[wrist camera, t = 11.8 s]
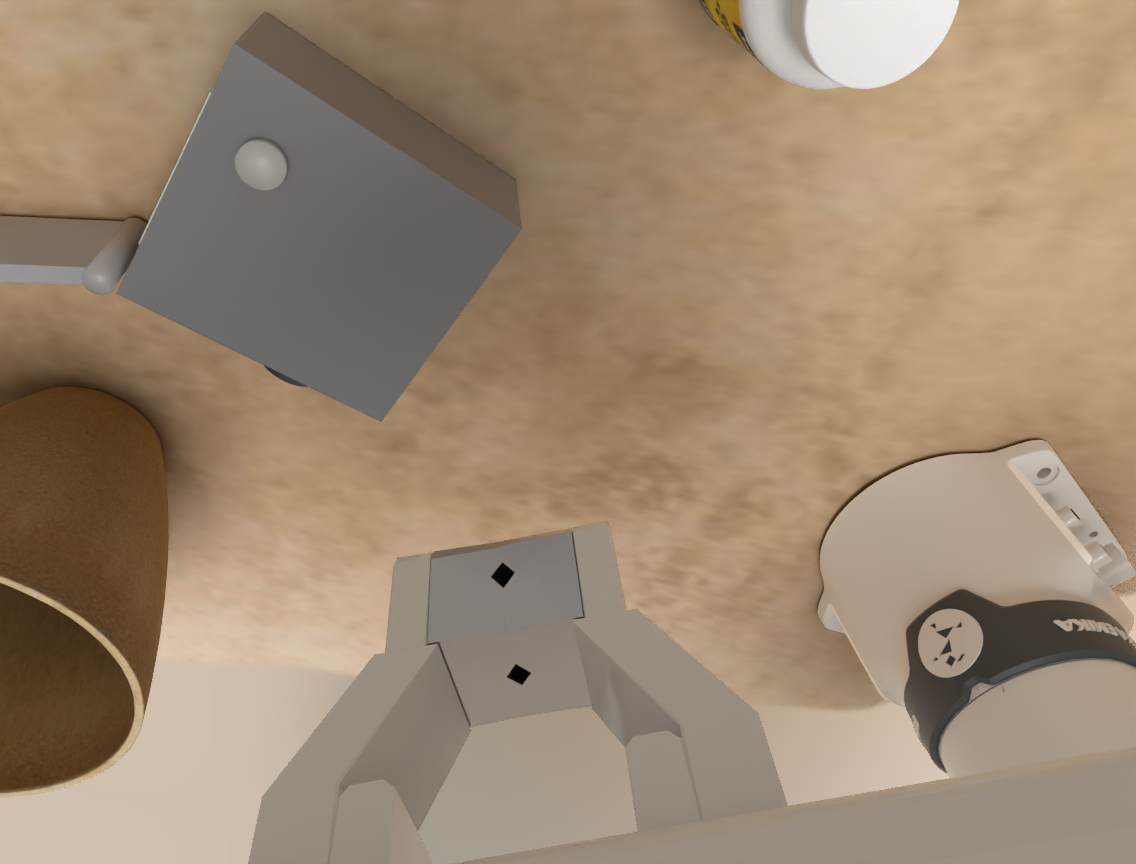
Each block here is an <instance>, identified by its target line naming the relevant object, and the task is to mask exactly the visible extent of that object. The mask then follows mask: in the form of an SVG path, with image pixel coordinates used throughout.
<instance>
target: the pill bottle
mask: <svg viewBox="0 0 1136 864" xmlns="http://www.w3.org/2000/svg"><path fill="white" fill-rule="evenodd" d="M700 1H701V3H702V5H703V7H704V9H705V10H706V12H707V13H708V15H709V16H710V17H711V18H712V20H713V21H714V22H715V23H716V24H717V25H718V26H720V27H721V28H722V29H723V30H724V31H726V32H727V33H728V34H729V35H730V36H731V37H732V38H733V39H735V40H736V41H737V42H738V43H739V44H740V45H742V46H743V47H744V48H745V49H746V50H747V51H748V52H750V53H751V54H752V55H753V56H754V57H755V58H756V59H757V60H758V61H759V62H760V63H761V64H762V65H764V66H765V67H766V68H767V69H768V70H770V71H771V72H772V73H774V74H775V75H776V76H778V77H779V78H781V79H783V80H785V81H787V82H789V83H791V84H794V85H797V86H801V87H804V88H811V89H833V88H839V87H844V86H845V87H849V88H856V89H871V88H877V87H882V86H885V85H888V84H891V83H893V82H896V81H898V80H900V79H902V78H903V77H905V76H907V75H908V74H910V73H911V72H913V71H914V70H915V69H917V68H918V67H919V66H920V65H922V64H923V63H924V62H925V61H926V60H927V59H928V58H929V57H930V56H931V55H932V53H933V52H934V51H935V50H936V49H937V48H938V46H939V45H940V43H941V42H942V40H943V39H944V37H945V36H946V34H947V32H948V30H949V28H950V26H951V24H952V22H953V19H954V17H955V14H956V11H957V8H958V4H959V0H700Z"/></svg>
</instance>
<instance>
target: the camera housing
mask: <svg viewBox="0 0 1136 864" xmlns="http://www.w3.org/2000/svg"><path fill="white" fill-rule="evenodd" d="M521 229H522V228H521V220H520V212H519V204H518V196H517V188H516V180H515V179H514V178H512V177H511V176H509V175H508V174H506V173H505V172H503V171H502V170H500V169H499V168H497V167H496V166H494V165H493V164H491V163H490V162H488V161H487V160H485V159H484V158H482V157H481V156H479V155H478V154H476V153H475V152H473V151H472V150H470V149H469V148H468V147H466V146H465V145H463V144H462V143H460V142H459V141H457V140H456V139H454V138H453V137H451V136H450V135H448V134H447V133H445V132H444V131H442V130H441V129H439V128H438V127H436V126H435V125H433V124H432V123H430V122H429V121H427V120H426V119H424V118H423V117H421V116H420V115H418V114H417V113H415V112H414V111H413V110H411V109H410V108H408V107H407V106H405V105H404V104H402V103H401V102H399V101H398V100H396V99H395V98H393V97H392V96H390V95H389V94H387V93H386V92H384V91H383V90H381V89H380V88H378V87H377V86H375V85H374V84H372V83H371V82H369V81H368V80H366V79H365V78H363V77H362V76H360V75H359V74H358V73H356V72H355V71H353V70H352V69H350V68H349V67H347V66H346V65H344V64H343V63H341V62H340V61H338V60H337V59H335V58H334V57H332V56H331V55H329V54H328V53H326V52H325V51H323V50H322V49H320V48H319V47H317V46H316V45H314V44H313V43H311V42H310V41H308V40H307V39H305V38H304V37H302V36H301V35H300V34H298V33H297V32H295V31H294V30H292V29H291V28H289V27H288V26H286V25H285V24H283V23H282V22H280V21H279V20H277V19H276V18H274V17H273V16H271V15H270V14H268V13H267V12H264V13H263V15H262V16H261V17H260V18H259V19H258V20H257V21H256V22H255V23H254V24H253V25H252V26H251V27H250V28H249V29H248V30H247V31H246V32H245V33H244V34H243V36H242V37H241V38H240V39H239V40H238V41H237V42H236V43H235V44H234V46H233V48H232V50H231V52H230V55H229V57H228V59H227V61H226V63H225V65H224V67H223V69H222V71H221V74H220V76H219V78H218V80H217V82H216V84H215V86H214V88H213V89H212V90H211V91H210V93H209V95H208V97H207V99H206V101H205V103H204V106H203V108H202V110H201V112H200V114H199V116H198V118H197V120H196V123H195V125H194V127H193V129H192V131H191V133H190V135H189V137H188V139H187V142H186V144H185V146H184V148H183V150H182V152H181V154H180V156H179V159H178V161H177V163H176V165H175V167H174V169H173V171H172V173H171V176H170V178H169V180H168V182H167V184H166V186H165V188H164V190H163V192H162V195H161V197H160V199H159V201H158V203H157V205H156V207H155V209H154V212H153V214H152V216H151V218H150V220H149V222H148V224H147V226H146V228H145V231H144V233H143V235H142V237H141V239H140V241H139V243H138V244H140V245H139V247H138V249H137V251H136V253H135V255H134V257H133V260H132V262H131V264H130V266H129V268H128V270H127V272H126V274H125V276H124V279H123V281H122V283H121V285H120V287H119V289H118V291H117V293H116V294H118V295H120V296H122V297H124V298H127V299H129V300H131V301H133V302H135V303H137V304H139V305H141V306H143V307H145V308H147V309H149V310H151V311H153V312H155V313H158V314H160V315H162V316H164V317H166V318H168V319H170V320H172V321H174V322H176V323H178V324H180V325H182V326H184V327H186V328H189V329H191V330H193V331H195V332H197V333H199V334H201V335H203V336H205V337H207V338H209V339H211V340H213V341H215V342H217V343H220V344H222V345H224V346H226V347H228V348H230V349H232V350H234V351H236V352H238V353H240V354H242V355H244V356H246V357H248V358H251V359H253V360H255V361H257V362H259V363H261V364H263V365H264V366H265V367H266V368H267V369H268V370H269V371H270V372H271V373H272V374H274V375H275V376H276V377H278V378H280V379H281V380H283V381H285V382H288V383H290V384H293V385H297V386H303V387H310V388H313V389H315V390H317V391H319V392H321V393H323V394H325V395H327V396H329V397H331V398H333V399H335V400H337V401H339V402H341V403H344V404H346V405H348V406H350V407H352V408H354V409H356V410H358V411H360V412H362V413H364V414H366V415H368V416H370V417H372V418H374V419H377V420H379V421H381V422H382V420H383V419H384V417H385V416H386V415H387V413H388V412H389V411H390V409H391V408H392V406H393V405H394V404H395V402H396V401H397V400H398V398H399V397H400V395H401V394H402V393H403V391H404V390H405V389H406V387H407V386H408V384H409V383H410V382H411V380H412V379H413V378H414V376H415V375H416V373H417V372H418V371H419V369H420V368H421V367H422V365H423V364H424V362H425V361H426V360H427V358H428V357H429V356H430V354H431V353H432V351H433V350H434V349H435V347H436V346H437V345H438V343H439V342H440V340H441V339H442V338H443V336H444V335H445V334H446V332H447V331H448V329H449V328H450V327H451V325H452V324H453V323H454V321H455V320H456V318H457V317H458V316H459V314H460V313H461V312H462V310H463V309H464V307H465V306H466V305H467V303H468V302H469V301H470V299H471V298H472V296H473V295H474V294H475V292H476V291H477V290H478V288H479V287H480V285H481V284H482V283H483V281H484V280H485V279H486V277H487V276H488V274H489V273H490V272H491V270H492V269H493V268H494V266H495V265H496V263H497V262H498V261H499V259H500V258H501V257H502V255H503V254H504V252H505V251H506V250H507V248H508V247H509V246H510V244H511V243H512V241H513V240H514V239H515V237H516V236H517V235H518V233H519V232H520V231H521Z"/></svg>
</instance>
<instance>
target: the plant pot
mask: <svg viewBox="0 0 1136 864" xmlns="http://www.w3.org/2000/svg"><path fill="white" fill-rule="evenodd" d="M168 539H169V535H168V499H167V485H166V475H165V467H164V460H163V453H162V447H161V444H160V441H159V438H158V436H157V434H156V432H155V430H154V429H153V427H152V426H151V424H150V423H149V422H148V421H147V420H146V419H145V418H144V417H143V416H142V415H141V414H140V413H139V412H138V411H137V410H136V409H134V408H133V407H132V406H130V405H129V404H127V403H125V402H124V401H122V400H120V399H118V398H116V397H114V396H112V395H109V394H107V393H104V392H101V391H98V390H94V389H89V388H84V387H74V386H63V387H53V388H47V389H44V390H41V391H38V392H36V393H33V394H30V395H28V396H25V397H23V398H20V399H18V400H15V401H13V402H11V403H8V404H6V405H4V406H1V407H0V797H15V796H24V795H33V794H39V793H45V792H50V791H55V790H59V789H63V788H66V787H70V786H73V785H75V784H78V783H81V782H83V781H85V780H88V779H90V778H92V777H94V776H96V775H98V774H100V773H102V772H104V771H105V770H107V769H108V768H110V767H111V766H112V765H114V764H115V763H116V762H117V761H118V760H120V759H121V758H122V757H123V756H124V755H125V754H126V753H127V752H128V751H129V749H130V748H131V747H132V745H133V744H134V742H135V740H136V738H137V737H138V734H139V732H140V730H141V727H142V723H143V719H144V714H145V710H146V705H147V701H148V697H149V692H150V687H151V682H152V677H153V672H154V667H155V661H156V656H157V651H158V644H159V638H160V632H161V624H162V616H163V609H164V600H165V589H166V577H167V563H168Z"/></svg>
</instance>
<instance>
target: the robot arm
mask: <svg viewBox="0 0 1136 864" xmlns="http://www.w3.org/2000/svg"><path fill="white" fill-rule="evenodd" d="M1127 559H1128V558H1127V555H1126V553H1125V551H1124V550H1123V548H1122V547H1121V545H1120V544H1119V542H1118V541H1117V539H1116V538H1115V537H1114V535H1113V534H1112V532H1111V531H1110V529H1109V528H1108V527H1107V525H1106V524H1105V522H1104V521H1103V520H1102V518H1101V517H1100V515H1099V514H1098V512H1097V511H1096V510H1095V508H1094V507H1093V505H1092V504H1091V502H1090V501H1089V500H1088V498H1087V497H1086V495H1085V494H1084V493H1083V491H1082V490H1081V488H1080V487H1079V485H1078V484H1077V483H1076V481H1075V480H1074V478H1073V477H1072V475H1071V474H1070V473H1069V471H1068V470H1067V468H1066V467H1065V466H1064V464H1063V463H1062V461H1061V460H1060V458H1059V457H1058V456H1057V454H1056V453H1055V451H1054V450H1053V448H1052V447H1051V446H1050V444H1049V443H1048V442H1046V441H1043V440H1032V441H1027V442H1023V443H1020V444H1016V445H1013V446H1010V447H1007V448H1004V449H1001V450H998V451H996V452H989V453H970V454H953V455H945V456H940V457H935V458H931V459H927V460H924V461H920V462H917V463H914V464H912V465H909V466H906V467H904V468H902V469H899V470H897V471H895V472H893V473H891V474H889V475H887V476H885V477H884V478H882V479H880V480H879V481H877V482H875V483H874V484H872V485H871V486H869V487H868V488H867V489H865V490H864V491H863V492H861V493H860V494H859V495H858V496H856V497H855V498H854V499H853V500H852V501H851V502H850V503H849V504H848V505H847V506H846V507H845V508H844V509H843V510H842V511H841V512H840V514H839V515H838V516H837V518H836V519H835V520H834V522H833V523H832V525H831V526H830V528H829V530H828V532H827V534H826V536H825V538H824V541H823V544H822V547H821V552H820V570H821V574H822V578H823V582H824V591H823V594H822V597H821V599H820V602H819V606H818V611H817V614H818V616H819V618H820V620H821V622H822V623H823V625H824V626H825V627H826V628H827V629H829V630H833V631H836V632H840V633H844V634H846V636H847V637H848V639H849V641H850V643H851V645H852V647H853V648H854V650H855V652H856V654H857V656H858V657H859V659H860V661H861V663H862V665H863V666H864V668H865V670H866V672H867V673H868V675H869V677H870V679H871V681H872V682H873V684H874V686H875V688H876V689H877V691H878V693H879V694H880V695H881V696H882V698H884V699H885V700H886V701H892V702H894V703H896V704H898V705H901V706H905V707H906V709H907V711H908V713H909V715H910V718H911V719H912V721H913V726H914V729H915V732H916V734H917V736H918V738H919V740H920V741H921V743H922V745H923V746H924V747H925V748H926V750H927V751H928V753H929V754H930V756H931V758H932V760H933V761H934V763H935V764H936V765H937V766H938V767H939V768H940V769H941V770H942V771H944V772H946V773H947V774H948V775H949V777H950V779H944V780H938V781H932V782H926V783H921V784H914V785H909V786H903V787H897V788H891V789H885V790H879V791H873V792H867V793H862V794H856V795H850V796H845V797H838V798H833V799H826V800H821V801H815V802H809V803H804V804H797V805H791V806H788V805H787V802H786V799H785V796H784V793H783V790H782V786H781V783H780V780H779V777H778V774H777V771H776V768H775V765H774V762H773V758H772V755H771V752H770V749H769V746H768V743H767V740H766V737H765V733H764V730H763V727H762V724H761V721H760V718H759V714H758V713H757V712H756V711H755V710H754V709H753V708H752V707H751V706H749V705H748V704H747V703H746V702H745V701H744V700H742V699H741V698H740V697H739V696H738V695H737V694H735V693H734V692H733V691H732V690H731V689H730V688H728V687H727V686H726V685H725V684H724V683H723V682H721V681H720V680H719V679H718V678H717V677H716V676H714V675H713V674H712V673H711V672H710V671H709V670H707V669H706V668H705V667H704V666H703V665H702V664H700V663H699V662H698V661H697V660H696V659H695V658H693V657H692V656H691V655H690V654H689V653H688V652H686V651H685V650H684V649H683V648H682V647H681V646H679V645H678V644H677V643H676V642H675V641H674V640H672V639H671V638H670V637H669V636H668V635H667V634H666V633H664V632H663V631H662V630H661V629H660V628H659V627H657V626H656V625H655V624H654V623H653V622H652V621H650V620H649V619H648V618H647V617H646V616H645V615H643V614H642V613H641V612H640V611H639V610H638V609H635V610H628V611H627V610H626V605H625V600H624V595H623V590H622V585H621V580H620V575H619V570H618V565H617V560H616V555H615V550H614V545H613V540H612V535H611V530H610V526H609V524H608V523H607V521H606V522H601V523H596V524H591V525H585V526H580V527H575V528H573V532H572V528H570V529H565V530H559V531H554V532H548V533H543V534H538V535H532V536H527V537H521V538H516V539H510V540H505V541H502V542H495V543H489V544H482V545H475V546H469V547H462V548H455V549H449V550H442V551H435V552H433V553H428V554H421V555H414V556H407V557H400V558H397V561H396V563H395V565H394V567H393V577H392V587H391V598H390V608H389V618H388V629H387V639H386V649H385V653H381V654H376V655H374V656H373V657H372V659H371V660H370V661H369V662H368V664H367V665H366V666H365V667H364V669H363V670H362V671H361V673H360V674H359V675H358V676H357V678H356V679H355V680H354V681H353V683H352V684H351V685H350V687H349V688H348V689H347V690H346V691H345V693H344V694H343V695H342V697H341V698H340V699H339V700H338V702H337V703H336V704H335V705H334V707H333V708H332V709H331V711H330V712H329V713H328V714H327V716H326V717H325V718H324V719H323V721H322V722H321V723H320V724H319V726H318V727H317V728H316V729H315V731H314V732H313V733H312V734H311V736H310V737H309V738H308V740H307V741H306V742H305V743H304V745H303V746H302V747H301V749H300V750H299V751H298V752H297V753H296V755H295V756H294V757H293V759H292V760H291V761H290V762H289V764H288V765H287V766H286V767H285V769H284V770H283V771H282V772H281V774H280V775H279V776H278V778H277V779H276V780H275V781H274V783H273V784H272V785H271V787H270V788H269V789H268V790H267V792H266V793H265V794H264V795H263V796H262V800H261V806H260V810H259V815H258V819H257V824H256V829H255V834H254V838H253V843H252V848H251V853H250V858H249V862H248V864H434V863H433V861H432V859H431V857H430V855H429V853H428V851H427V849H426V847H425V845H424V843H423V841H422V839H421V837H420V835H419V834H418V830H419V828H420V826H421V824H422V822H423V821H424V819H425V817H426V815H427V813H428V811H429V809H430V807H431V805H432V804H433V802H434V800H435V798H436V796H437V794H438V792H439V790H440V788H441V787H442V785H443V783H444V781H445V779H446V777H447V775H448V773H449V771H450V769H451V768H452V766H453V764H454V762H455V760H456V758H457V756H458V754H459V753H460V750H461V749H462V747H463V745H464V743H465V741H466V739H467V737H468V736H469V734H470V732H471V729H470V727H473V726H478V725H483V724H488V723H492V722H498V721H503V720H508V719H513V718H518V717H523V716H528V715H534V714H541V713H548V712H554V711H561V710H567V709H575V708H582V707H589V706H592V709H593V710H594V711H595V712H596V714H597V715H598V716H599V717H600V718H601V720H602V721H603V722H604V723H605V724H606V726H607V727H608V728H609V729H610V730H611V731H612V733H613V734H614V735H615V736H616V737H617V739H619V741H620V742H621V743H622V744H623V746H624V747H625V750H626V756H627V763H628V770H629V776H630V782H631V790H632V796H633V803H634V809H635V816H636V822H637V830H638V832H633V833H627V834H622V835H615V836H610V837H604V838H598V839H592V840H586V841H580V842H574V843H569V844H563V845H557V846H551V847H545V848H539V849H533V850H528V851H522V852H516V853H510V854H504V855H498V856H492V857H486V858H481V859H475V860H469V861H463V862H457V863H451V864H1136V643H1135V642H1134V641H1133V640H1132V639H1131V638H1130V637H1129V636H1128V635H1129V633H1130V631H1131V629H1132V626H1133V621H1134V617H1133V614H1132V613H1131V612H1130V610H1129V609H1128V608H1127V607H1126V605H1125V604H1124V603H1123V602H1122V600H1121V599H1120V598H1119V597H1118V596H1117V594H1116V593H1115V592H1114V591H1113V589H1112V588H1114V587H1116V586H1115V585H1116V584H1118V585H1119V584H1121V582H1125V581H1127V580H1128V579H1130V578H1132V577H1134V576H1136V575H1135V574H1136V570H1135V568H1134V567H1133V566H1132V565H1131V564H1130V562H1129V561H1128V560H1127Z"/></svg>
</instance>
